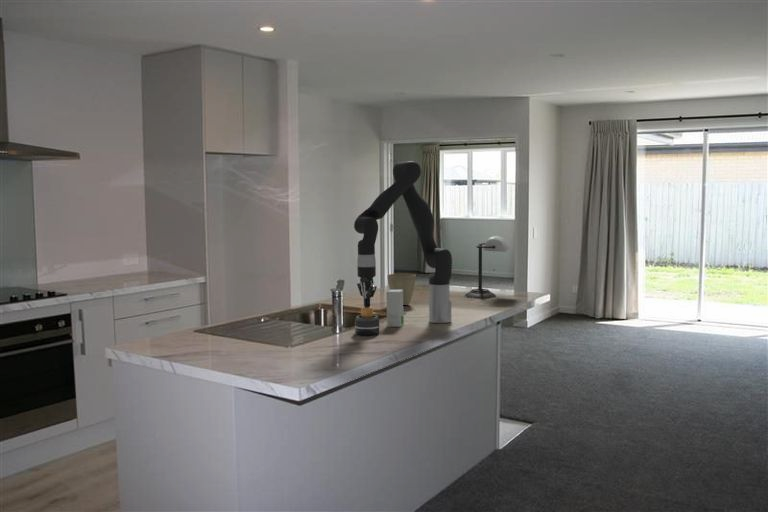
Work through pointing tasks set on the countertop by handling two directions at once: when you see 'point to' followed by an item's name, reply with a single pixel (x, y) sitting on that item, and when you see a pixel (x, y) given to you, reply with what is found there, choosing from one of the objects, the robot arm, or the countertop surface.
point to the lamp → (490, 245)
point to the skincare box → (395, 308)
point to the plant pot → (402, 285)
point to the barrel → (367, 326)
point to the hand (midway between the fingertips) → (367, 306)
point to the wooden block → (366, 312)
